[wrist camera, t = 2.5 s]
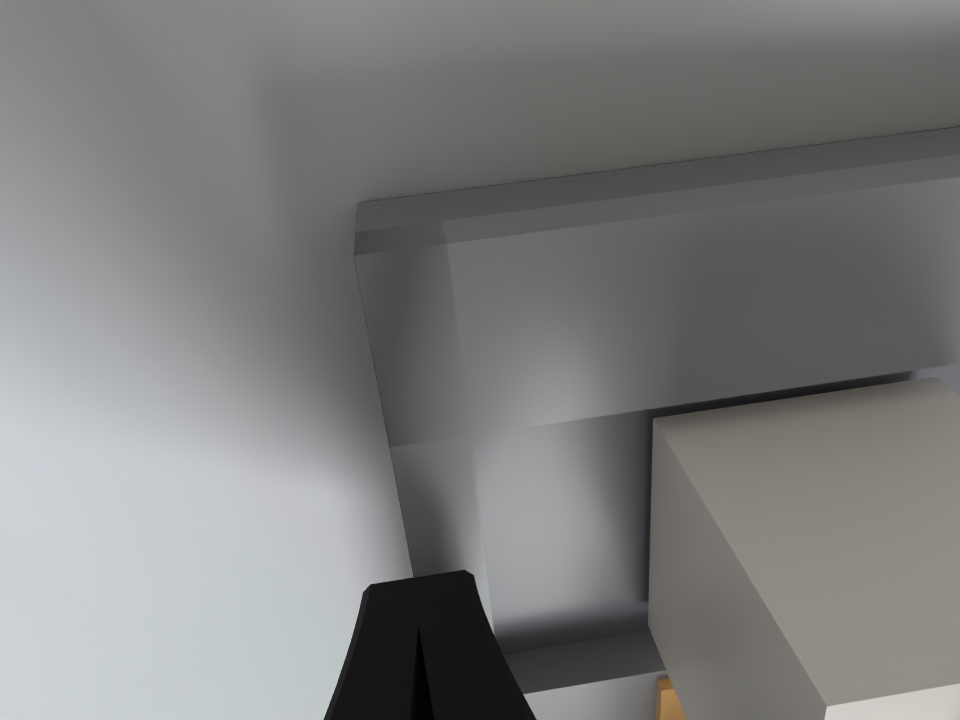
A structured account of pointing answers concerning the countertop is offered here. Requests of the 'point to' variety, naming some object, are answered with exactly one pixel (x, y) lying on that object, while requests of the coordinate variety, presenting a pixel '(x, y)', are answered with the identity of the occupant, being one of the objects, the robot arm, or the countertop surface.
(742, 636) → the tab
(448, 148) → the countertop surface
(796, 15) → the countertop surface
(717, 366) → the switch board
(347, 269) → the countertop surface
